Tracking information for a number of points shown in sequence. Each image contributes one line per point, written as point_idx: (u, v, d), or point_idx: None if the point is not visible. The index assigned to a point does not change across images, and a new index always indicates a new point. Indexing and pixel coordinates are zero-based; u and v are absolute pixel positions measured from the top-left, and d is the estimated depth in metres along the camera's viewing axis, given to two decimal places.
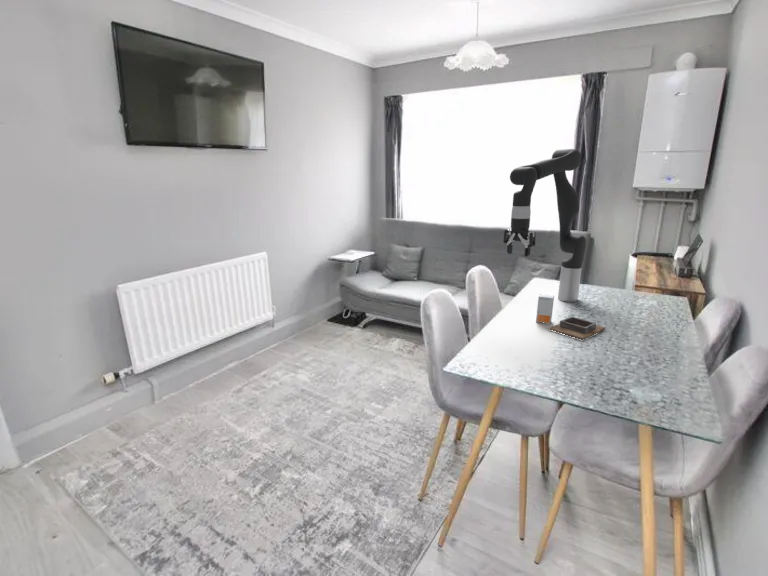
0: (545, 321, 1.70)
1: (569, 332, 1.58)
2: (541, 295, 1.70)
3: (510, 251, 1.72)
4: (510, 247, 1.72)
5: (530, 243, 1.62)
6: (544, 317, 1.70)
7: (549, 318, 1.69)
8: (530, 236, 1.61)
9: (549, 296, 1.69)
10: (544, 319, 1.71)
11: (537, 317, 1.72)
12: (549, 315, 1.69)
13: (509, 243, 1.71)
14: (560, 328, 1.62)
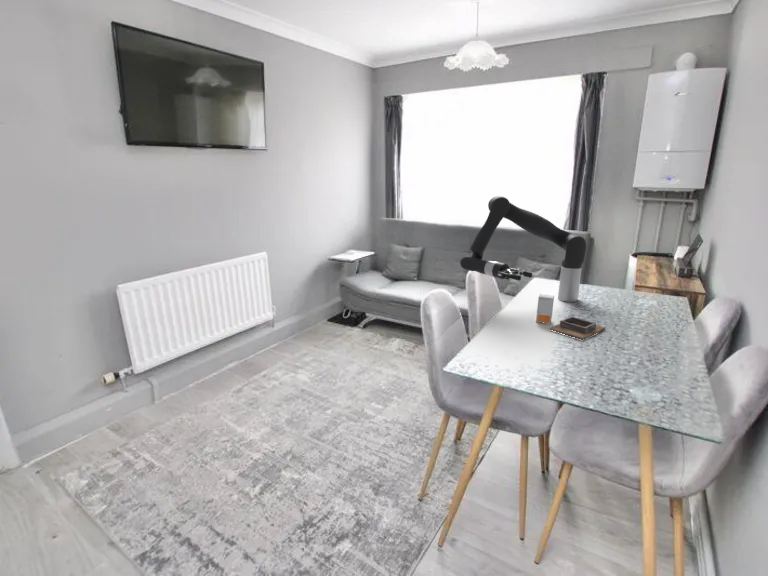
0: (545, 321, 1.70)
1: (569, 332, 1.58)
2: (541, 295, 1.70)
3: (529, 275, 1.79)
4: (525, 274, 1.81)
5: None
6: (544, 317, 1.70)
7: (549, 318, 1.69)
8: None
9: (549, 296, 1.69)
10: (544, 319, 1.71)
11: (537, 317, 1.72)
12: (549, 315, 1.69)
13: (522, 275, 1.82)
14: (560, 328, 1.62)
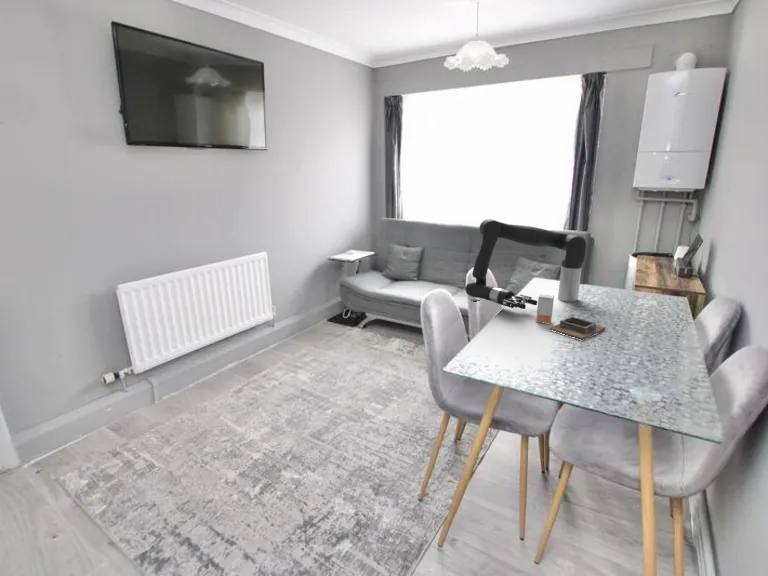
0: (545, 321, 1.70)
1: (569, 332, 1.58)
2: (541, 295, 1.70)
3: (534, 302, 1.80)
4: (530, 302, 1.81)
5: None
6: (544, 317, 1.70)
7: (549, 318, 1.69)
8: None
9: (549, 296, 1.69)
10: (544, 319, 1.71)
11: (537, 317, 1.72)
12: (549, 315, 1.69)
13: None
14: (560, 328, 1.62)
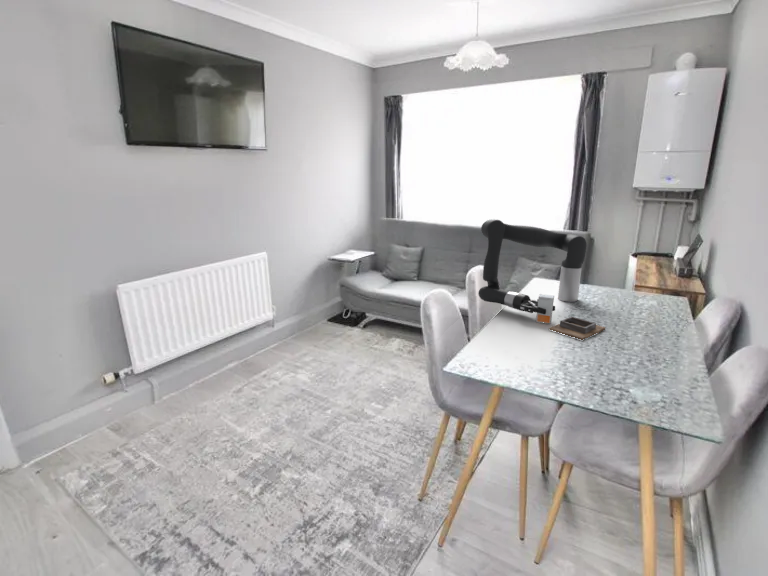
0: (545, 321, 1.70)
1: (569, 332, 1.58)
2: (541, 295, 1.70)
3: None
4: None
5: None
6: (544, 317, 1.70)
7: (549, 318, 1.69)
8: None
9: (549, 296, 1.69)
10: (544, 319, 1.71)
11: (537, 317, 1.72)
12: (549, 315, 1.69)
13: None
14: (560, 328, 1.62)
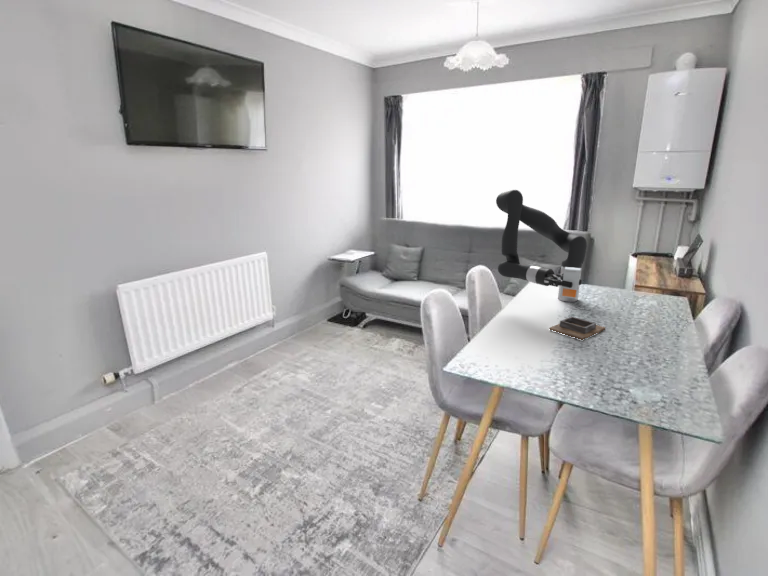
0: (571, 295, 1.60)
1: (569, 332, 1.58)
2: (567, 268, 1.60)
3: None
4: None
5: None
6: (569, 291, 1.60)
7: (575, 292, 1.59)
8: None
9: (576, 268, 1.58)
10: (569, 294, 1.60)
11: (562, 291, 1.61)
12: (575, 289, 1.58)
13: None
14: (560, 328, 1.62)
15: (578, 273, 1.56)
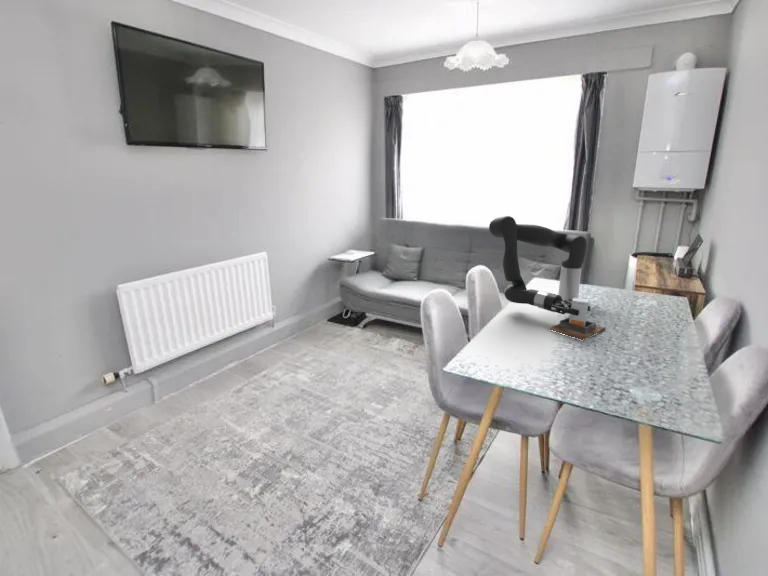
0: None
1: (569, 332, 1.58)
2: (575, 299, 1.60)
3: None
4: None
5: None
6: (577, 323, 1.60)
7: (583, 324, 1.59)
8: None
9: (584, 300, 1.58)
10: None
11: (570, 322, 1.62)
12: (583, 320, 1.59)
13: None
14: (560, 328, 1.62)
15: (586, 305, 1.57)
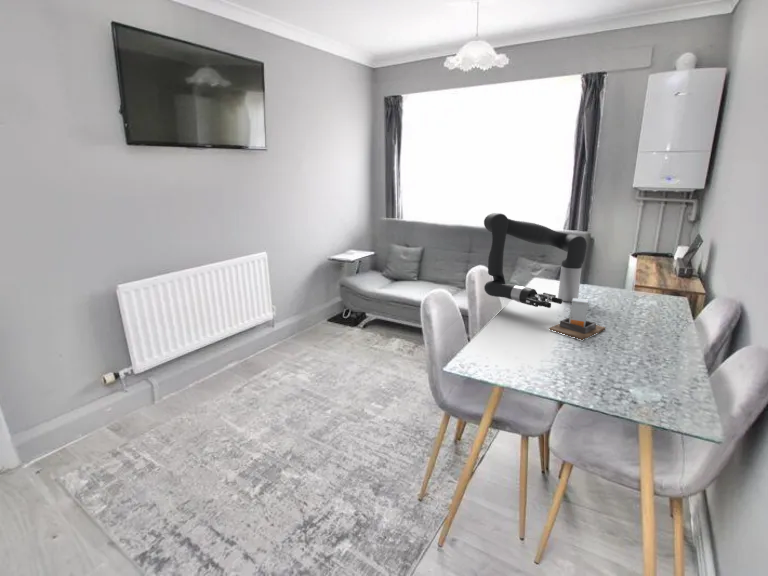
0: None
1: (569, 332, 1.58)
2: (575, 299, 1.60)
3: (559, 301, 1.72)
4: (555, 300, 1.73)
5: None
6: (577, 323, 1.60)
7: (583, 324, 1.59)
8: None
9: (583, 300, 1.59)
10: None
11: (569, 322, 1.62)
12: (583, 320, 1.59)
13: (551, 301, 1.75)
14: (560, 328, 1.62)
15: (586, 305, 1.57)
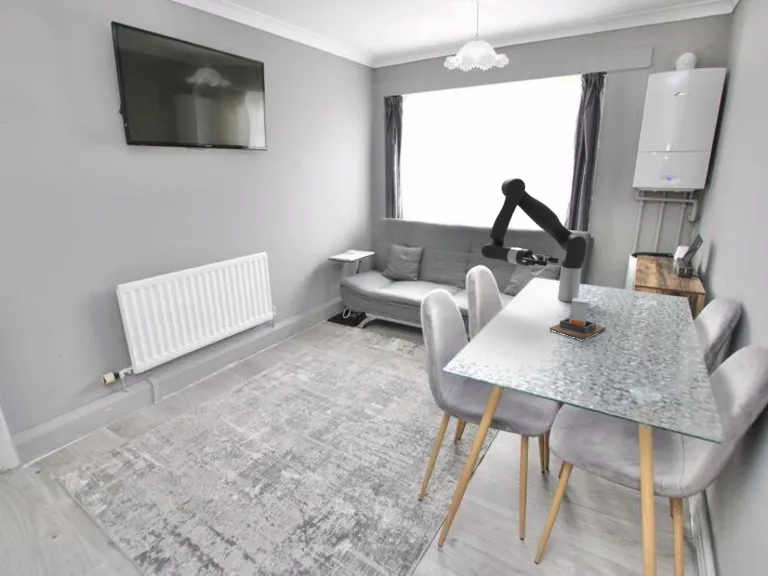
0: None
1: (569, 332, 1.58)
2: (575, 299, 1.60)
3: (555, 260, 1.72)
4: (551, 260, 1.73)
5: (531, 264, 1.70)
6: (577, 323, 1.60)
7: (583, 324, 1.59)
8: None
9: (583, 300, 1.59)
10: None
11: (569, 322, 1.62)
12: (583, 320, 1.59)
13: None
14: (560, 328, 1.62)
15: (586, 305, 1.57)
